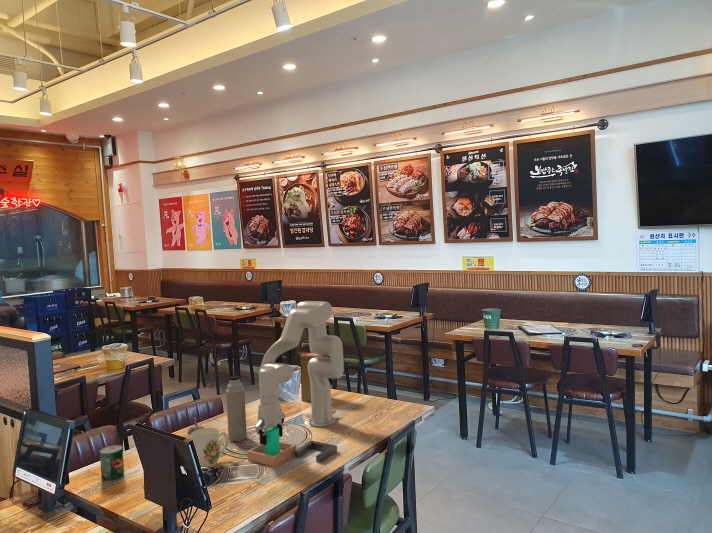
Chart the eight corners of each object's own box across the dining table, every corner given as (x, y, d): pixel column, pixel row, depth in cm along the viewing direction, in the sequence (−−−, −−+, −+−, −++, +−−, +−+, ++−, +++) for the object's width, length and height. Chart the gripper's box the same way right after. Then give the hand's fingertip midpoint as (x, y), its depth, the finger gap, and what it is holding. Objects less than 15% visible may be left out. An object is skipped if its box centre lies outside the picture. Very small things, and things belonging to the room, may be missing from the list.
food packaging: (329, 396, 286) (327, 352, 285) (324, 401, 277) (322, 356, 276) (306, 396, 289) (304, 352, 288) (301, 401, 279) (299, 356, 278)
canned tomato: (122, 480, 192) (120, 451, 191) (99, 483, 190) (97, 454, 189) (125, 471, 200) (124, 443, 199) (103, 474, 197) (101, 446, 197)
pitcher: (236, 460, 206) (234, 426, 205) (196, 476, 193) (194, 440, 192) (221, 453, 213) (219, 420, 213) (181, 468, 200) (179, 434, 199)
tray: (270, 447, 218) (270, 439, 217) (296, 453, 210) (296, 444, 210) (247, 459, 206) (247, 451, 206) (274, 466, 198) (273, 457, 198)
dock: (311, 446, 217) (311, 440, 217) (337, 451, 210) (336, 445, 210) (294, 456, 207) (293, 450, 206) (320, 463, 200) (320, 456, 200)
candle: (265, 451, 211) (264, 422, 211) (280, 450, 212) (279, 421, 211) (264, 457, 205) (262, 427, 205) (279, 456, 206) (278, 426, 205)
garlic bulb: (184, 436, 234) (183, 419, 234) (196, 431, 241) (195, 414, 240) (196, 439, 231) (195, 421, 230) (208, 433, 237) (207, 416, 237)
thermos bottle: (249, 435, 232) (246, 374, 231) (242, 442, 224) (239, 379, 223) (233, 434, 234) (230, 374, 232) (225, 441, 226) (222, 379, 225)
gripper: (276, 391, 216) (278, 431, 217) (247, 403, 202) (249, 446, 202) (290, 393, 212) (292, 434, 213) (262, 406, 198) (264, 449, 198)
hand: (271, 439), depth 208 cm, fingers open, 9 cm apart
